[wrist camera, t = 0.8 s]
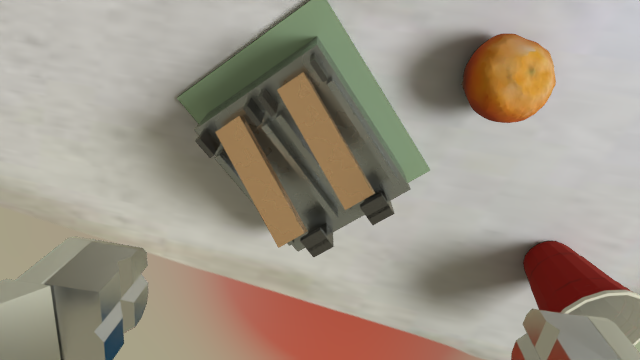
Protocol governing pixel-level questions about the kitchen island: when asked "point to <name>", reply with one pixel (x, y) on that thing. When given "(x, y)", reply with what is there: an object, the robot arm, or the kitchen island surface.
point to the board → (286, 41)
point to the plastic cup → (580, 288)
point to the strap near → (325, 141)
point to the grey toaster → (296, 156)
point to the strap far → (261, 181)
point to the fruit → (508, 78)
